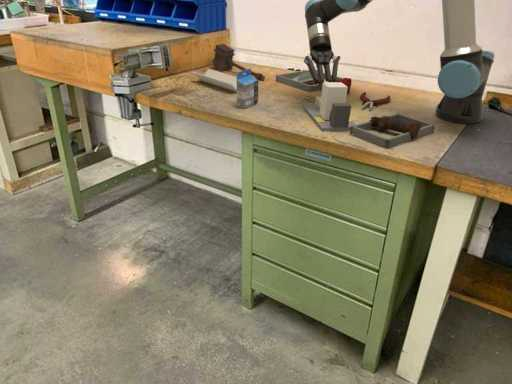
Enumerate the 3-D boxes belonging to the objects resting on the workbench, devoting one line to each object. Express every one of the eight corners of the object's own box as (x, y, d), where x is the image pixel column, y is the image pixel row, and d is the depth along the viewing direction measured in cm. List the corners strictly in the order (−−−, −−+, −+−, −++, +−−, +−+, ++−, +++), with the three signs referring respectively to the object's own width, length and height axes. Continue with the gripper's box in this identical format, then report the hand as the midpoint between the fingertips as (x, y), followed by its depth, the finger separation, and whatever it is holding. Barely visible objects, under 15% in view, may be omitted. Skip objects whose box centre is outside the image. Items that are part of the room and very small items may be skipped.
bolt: (370, 131, 136) (415, 141, 128) (365, 127, 132) (411, 137, 124) (376, 114, 136) (422, 123, 127) (371, 109, 132) (418, 119, 123)
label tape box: (245, 109, 148) (246, 74, 142) (235, 106, 150) (236, 72, 144) (258, 103, 155) (259, 69, 149) (249, 101, 157) (250, 67, 151)
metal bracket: (321, 67, 188) (320, 74, 175) (323, 79, 190) (322, 88, 177) (290, 74, 191) (287, 81, 178) (293, 86, 194) (290, 94, 181)
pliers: (349, 110, 152) (350, 103, 151) (361, 97, 168) (362, 90, 167) (381, 115, 148) (382, 108, 147) (390, 101, 164) (392, 95, 163)
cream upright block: (319, 114, 141) (322, 82, 136) (337, 113, 142) (341, 82, 137) (324, 120, 136) (328, 87, 131) (343, 119, 137) (347, 87, 132)
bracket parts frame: (346, 85, 182) (347, 79, 181) (310, 92, 170) (310, 86, 169) (311, 74, 197) (311, 69, 196) (275, 80, 185) (275, 75, 184)
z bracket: (208, 88, 186) (216, 77, 187) (246, 101, 171) (254, 89, 171) (192, 72, 177) (200, 60, 177) (230, 84, 161) (239, 71, 162)
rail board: (301, 106, 153) (303, 84, 149) (332, 105, 155) (335, 84, 151) (321, 131, 131) (324, 106, 127) (358, 130, 132) (362, 105, 129)
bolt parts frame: (433, 132, 133) (435, 124, 132) (386, 148, 120) (388, 140, 118) (396, 120, 142) (397, 113, 141) (349, 133, 129) (350, 126, 128)
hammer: (222, 63, 206) (224, 43, 200) (267, 90, 189) (271, 69, 183) (211, 65, 202) (213, 44, 196) (256, 93, 185) (260, 71, 179)
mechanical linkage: (342, 99, 164) (344, 86, 162) (325, 95, 167) (326, 83, 165) (355, 90, 176) (357, 78, 174) (339, 87, 179) (341, 75, 177)
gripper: (333, 47, 152) (342, 105, 145) (299, 47, 150) (306, 106, 144) (340, 34, 145) (350, 95, 138) (304, 33, 143) (312, 95, 136)
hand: (328, 100), depth 141 cm, fingers closed
